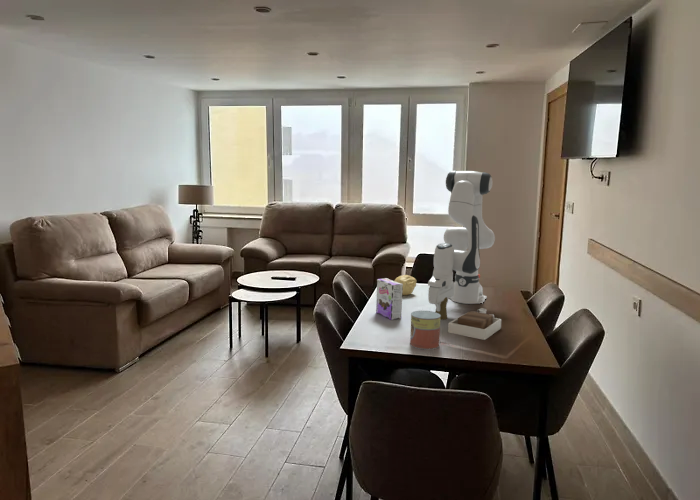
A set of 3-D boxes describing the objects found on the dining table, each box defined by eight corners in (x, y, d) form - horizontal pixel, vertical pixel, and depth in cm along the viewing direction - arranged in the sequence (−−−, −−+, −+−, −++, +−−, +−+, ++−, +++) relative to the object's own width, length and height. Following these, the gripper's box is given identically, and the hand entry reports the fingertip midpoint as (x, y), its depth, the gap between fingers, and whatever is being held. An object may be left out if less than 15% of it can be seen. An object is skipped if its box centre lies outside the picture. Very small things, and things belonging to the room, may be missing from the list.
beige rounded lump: (405, 297, 269) (405, 277, 267) (388, 293, 278) (389, 274, 276) (418, 294, 277) (419, 275, 275) (402, 290, 285) (403, 272, 284)
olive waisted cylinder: (450, 319, 228) (451, 296, 226) (442, 322, 224) (443, 298, 222) (438, 316, 232) (440, 293, 230) (431, 319, 228) (432, 296, 226)
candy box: (375, 312, 238) (376, 278, 235) (386, 311, 240) (387, 277, 238) (390, 320, 226) (392, 284, 223) (401, 318, 228) (403, 283, 226)
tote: (465, 323, 223) (466, 312, 222) (500, 330, 214) (501, 319, 213) (447, 334, 207) (448, 322, 206) (484, 342, 198) (485, 330, 197)
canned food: (407, 339, 199) (408, 310, 197) (435, 339, 200) (436, 310, 198) (412, 349, 188) (414, 318, 186) (442, 349, 189) (444, 318, 187)
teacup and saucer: (496, 318, 234) (496, 309, 233) (487, 321, 229) (487, 312, 228) (480, 314, 240) (480, 306, 240) (470, 317, 235) (471, 308, 234)
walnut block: (469, 324, 219) (470, 310, 218) (492, 328, 213) (493, 314, 212) (457, 332, 207) (457, 317, 206) (480, 336, 202) (481, 322, 201)
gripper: (445, 275, 235) (444, 303, 237) (426, 282, 219) (425, 313, 221) (458, 276, 232) (456, 306, 234) (439, 284, 215) (438, 315, 217)
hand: (441, 309), depth 227 cm, fingers closed on olive waisted cylinder, 4 cm apart
